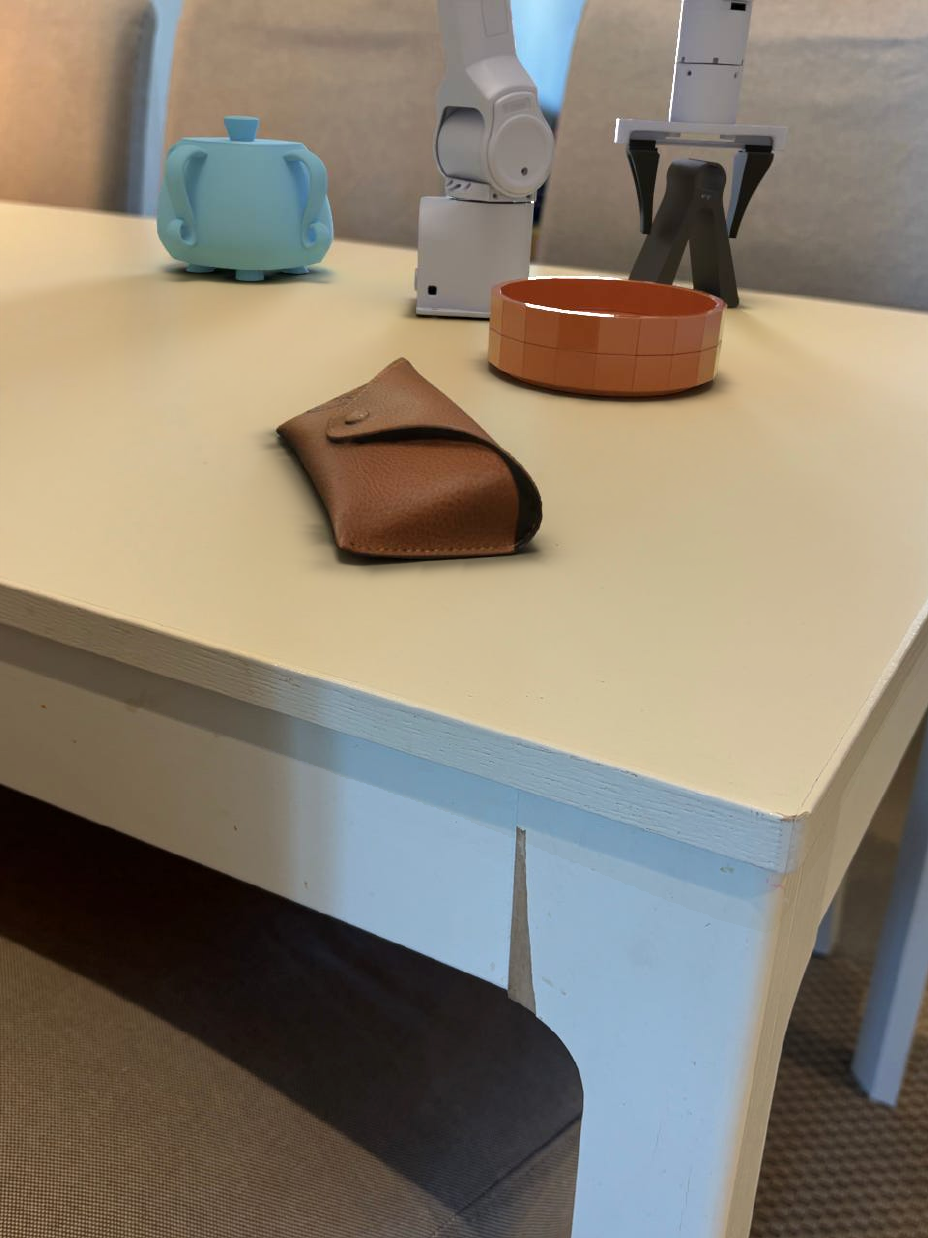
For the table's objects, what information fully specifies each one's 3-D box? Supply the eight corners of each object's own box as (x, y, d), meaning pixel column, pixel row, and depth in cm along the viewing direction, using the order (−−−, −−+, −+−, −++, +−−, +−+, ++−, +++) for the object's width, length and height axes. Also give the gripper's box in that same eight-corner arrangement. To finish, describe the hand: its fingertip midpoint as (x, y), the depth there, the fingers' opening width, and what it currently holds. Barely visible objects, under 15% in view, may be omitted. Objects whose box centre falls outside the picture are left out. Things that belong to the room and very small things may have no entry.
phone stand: (710, 295, 102) (729, 159, 97) (738, 307, 97) (760, 164, 92) (622, 294, 100) (637, 156, 95) (646, 306, 95) (663, 160, 90)
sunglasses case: (263, 423, 55) (326, 309, 54) (375, 482, 59) (438, 376, 57) (338, 557, 40) (429, 403, 39) (484, 625, 44) (573, 486, 42)
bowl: (486, 394, 65) (491, 310, 63) (487, 342, 79) (491, 271, 76) (735, 406, 65) (748, 323, 63) (693, 352, 78) (703, 282, 76)
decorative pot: (334, 262, 111) (333, 118, 105) (332, 286, 97) (330, 122, 91) (174, 257, 110) (164, 110, 104) (148, 281, 95) (134, 113, 89)
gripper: (783, 69, 94) (758, 233, 100) (618, 62, 94) (603, 226, 100) (804, 68, 87) (776, 242, 93) (627, 60, 87) (610, 235, 93)
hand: (687, 234), depth 96 cm, fingers open, 7 cm apart
